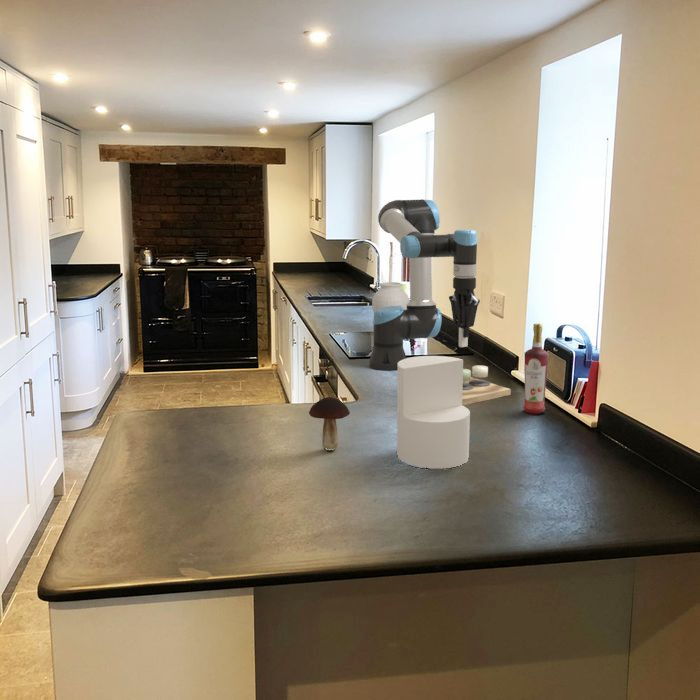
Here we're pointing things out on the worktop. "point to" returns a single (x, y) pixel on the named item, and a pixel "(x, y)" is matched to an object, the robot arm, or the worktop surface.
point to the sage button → (466, 374)
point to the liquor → (535, 374)
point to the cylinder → (432, 412)
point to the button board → (481, 391)
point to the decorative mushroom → (329, 418)
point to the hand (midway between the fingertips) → (463, 346)
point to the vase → (390, 296)
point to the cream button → (479, 371)
